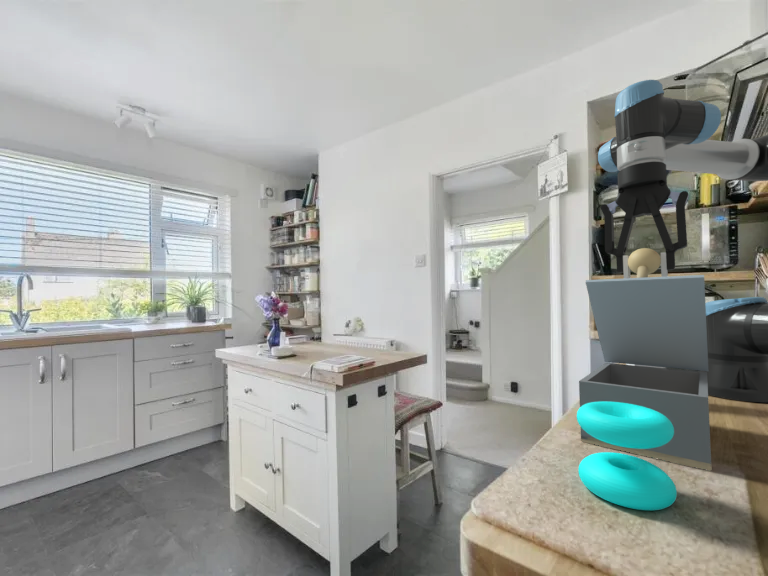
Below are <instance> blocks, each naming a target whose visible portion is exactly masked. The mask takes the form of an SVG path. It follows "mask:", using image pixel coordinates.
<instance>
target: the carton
mask: <svg viewBox="0 0 768 576" xmlns="http://www.w3.org/2000/svg"><path fill="white" fill-rule="evenodd" d="M578 392H579V393H578V394H579V408H580V407H581V406H582V405H584V404H587V403H591V402H599V401H608V402H621V403H628V404H634V405H638V406H643V407H646V408H649V409H652V410H655V411H657V412H659V413H661V414H663V415H664V416H666V417H667V418H668V419H669V420H670V421H671V423H672V425H673V427H674V435H673V437H672V439H671V440H670V441H669V442H668V443H667V444H665V445H663V446H660V447H656V448H649V449H635V448H626V447H621V446H616V445H612V444H609V443H606V442H603V441H601V440H598V439H596V438H594V437H593V436H591V435H589V434H588V433H587V432H585V431H584V430H583V429H582V428H581V427H580V442H581V441H582V442H581V443H584V444H585V443H586V444H590V445H594V444H595V446H598V445H599V447H604V448H607V449H612V450H616V451H620V450H621V451H620V452H624V451H626V452H625V453H629V452H630V454H634V455H638V456H643V457H646V456H647V458H651V457H653V458H652V459H655V458H658V459H657V460H659V459H662V460H661V461H664V460H665V461H664V462H668V461H670V462H669V463H673V464H677V465H681V466H686V467H690V468H694V467H697V468H696V469H698V468H702V469H701V470H703V469H707V470H712V453H711V451H712V449H711V429H710V425H711V424H710V406H709V403H710V402H709V395H708V381H707V372H699V370H689V369H678V368H667V367H666V368H656V367H645V366H634V365H626V364H623V363H612V362H604V364H602V365H600V366H599V367H597V368H596V369H595V370H593V371H591V372H590V373H588V374H587V375H586V376H585V377H583V378H582V379H580V380H579V381H578ZM707 470H706V471H707ZM712 471H713V470H712Z"/></svg>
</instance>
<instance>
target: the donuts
mask: <svg viewBox="0 0 768 576" xmlns="http://www.w3.org/2000/svg"><path fill="white" fill-rule="evenodd" d="M576 421H577V424H578V425H579V426H580V429H581V428H582V429H583V430H584V431H585V432H587V433H588V434H589V435H591V436H593V437H594V438H596V439H598V440H601V441H603V442H606V443H609V444H612V445H616V446H621V447H626V448H635V449H649V448H656V447H660V446H663V445H665V444H667V443H668V442H669V441H670V440H671V439H672V437H673V435H674V427H673V425H672V423H671V421H670V420H669V419H668V418H667V417H666V416H664V415H663V414H661V413H659V412H657V411H655V410H652V409H649V408H646V407H643V406H638V405H634V404H628V403H621V402H608V401H599V402H591V403H587V404H584V405H582V406H581V407H580V406H579V408H578V410H577V411H576ZM577 469H578V471H577V472H578V476H579V479H580V480H581V483H582V484H583V486H585V487H586V489H588V490H589V491H590V492H591V493H593V494H594V495H596V496H597V497H599V498H601V499H602V500H605V501H607V502H609V503H611V504H614V505H618V506H620V507H624V508H628V509H633V510H638V511H659V510H660V511H661V510H664V509H666V508H668V507H671V506H672V505H673V504H674V503H675V502H676V499H677V497H678V490H677V487H676V484H675V483H674V481H673V479H672V478H671V477H670V476H669V475H668V473H667V472H665V471H664V470H663V469H662V468H660V467H659V466H657V465H655V464H654V463H651V462H649V461H648V460H645V459H643V458H641V457H638V456H633V455H630V454H625V453H620V452H612V451H609V452H608V451H603V452H602V451H601V452H594V453H592V454H589V455H587V456H586V457H584V458H583V459H581V461H580V462H579V465H578V468H577Z"/></svg>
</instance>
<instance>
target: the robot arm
mask: <svg viewBox="0 0 768 576" xmlns="http://www.w3.org/2000/svg"><path fill="white" fill-rule="evenodd" d="M664 95H665V90H664V88H663V84H662V83H661V82H660V81H659V80H656V79H644V80H640V81H638V82H635V83H632V84H629V85H628V86H627V87H625V88H624V89H622V90H621V91H620V92H619V93H618V94H617V96H616V98H615V105H614V106H615V107H614V108H615V109H614V120H615V121H614V122H615V123H614V124H615V136H614V137H612V138H611V139H610V140H609V141H607V142H605V143H604V144H603V145H601V146H600V148H599V150H598V152H597V161H598V164H599V166H600V167H601V168H602V169H603V170H604V171H605V172H609V173H616V172H617V195H616V198H615V200H614V201H612V202H610V203H607V204H605V203H604V204H602V205H600V210H601V212H602V214H603V216H604V218H603V219H604V223H603V224H604V251H605V253H606V254H608V255H612V256H615V258H616V261H615V262H616V271H617V272H618V273H619V274H622V273H623V278H631V269H630V268H629V266H628V258H629V256H630V255H628V254H627V255H626V252H627V249H628V248H627V247H628V245H629V240H630V237H631V233H632V230H633V226H634V223H635V221H636V218H640V217H643V216H649V217H650V216H652V218H653V222H654V223H655V225H656V226H655V227H656V228H657V231H658V233H659V236H660V239H661V242H662V244H663V246H664V249H665V252H660V258H661V264H660V275H661V276H660V277H668V276H669V275H668V274H669V273H668V271H674V270H675V268H676V252H677V251H680V250H682V249H686V248H687V246H688V236H687V235H688V234H687V219H686V218H687V217H686V205H687V203H688V200H689V196H690V195H689V193H688V191H686V190H683V191H680V192H679V191H671V189H670V188H669V187H668V179H667V178H668V177H667V175H668V174H667V171H676V172H678V171H679V172H685V173H687V172H688V173H700V174H711V175H716V176H717V177H719V178H721V179H723V180H730V181H740V182H741V181H746V182H748V181H749V182H766V181H767V182H768V134H765V135H763V136H760V137H756V138H738V139H735V140H732V141H726V140H725V141H724V140H714V139H710V138H711V137H712V136H713V135H714V134H715V133H716V131H717V130H718V128H719V127H720V124H721V121H722V112H721V110H720V108H719V107H718V106H717V105H716V104H713V103H709V102H704V101H702V100H693V99H692V100H691V99H679V98H672V97H665V96H664ZM669 199H671V203H672V204H673V205H675V216H676V229H677V230H676V233H677V242H674V243H673V241H672V238H671V237H670V234H669V230H668V229H667V226H666V223H665V221H664V218H663V216H662V213H661V211H660V210H661V209H662V207H663V206H664V205H665V204H666V202H667V201H668V200H669ZM617 208H620V209H621V210H622V211H623V212H624V213H625V215H624V217H623V218H624V219H623V224H622V227H621V231H620V234H619V238H618V243H617V246H616V248H615V227H614V226H615V222H614V221H615V220H614V214H616V212H617V211H616V209H617ZM705 306H706V328H707V350H708V371H700V370H698V371H699V372H707V381H708V396H711V397H717V398H722V399H727V400H735V401H741V402H743V401H744V402H752V403H768V300H767V298H765V297H764V296H763V297H762V296H751V297H740V298H728V299H727V298H726V299H717V300H711V301H707V302H705Z"/></svg>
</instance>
